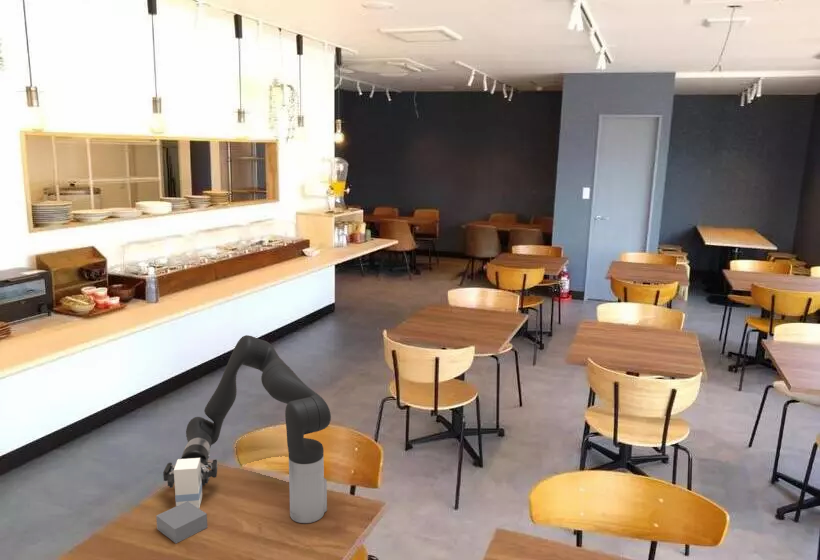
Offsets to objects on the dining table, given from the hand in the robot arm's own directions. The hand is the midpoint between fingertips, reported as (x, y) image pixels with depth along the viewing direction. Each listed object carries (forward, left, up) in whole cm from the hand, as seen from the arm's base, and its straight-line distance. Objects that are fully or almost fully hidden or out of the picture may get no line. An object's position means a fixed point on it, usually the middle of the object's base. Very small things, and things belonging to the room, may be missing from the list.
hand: (187, 483), depth 173 cm
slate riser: (+7, +8, -7) cm, 12 cm away
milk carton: (-1, -1, -7) cm, 7 cm away
